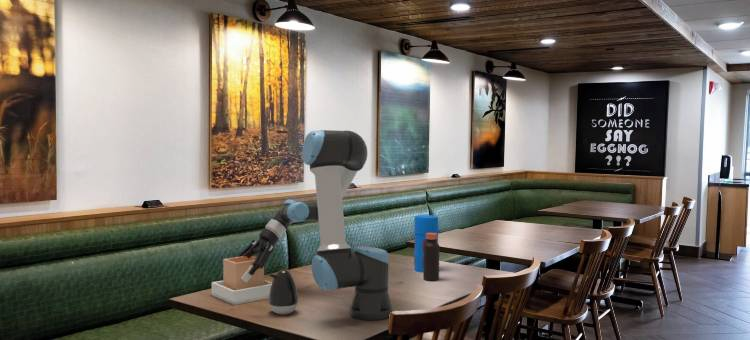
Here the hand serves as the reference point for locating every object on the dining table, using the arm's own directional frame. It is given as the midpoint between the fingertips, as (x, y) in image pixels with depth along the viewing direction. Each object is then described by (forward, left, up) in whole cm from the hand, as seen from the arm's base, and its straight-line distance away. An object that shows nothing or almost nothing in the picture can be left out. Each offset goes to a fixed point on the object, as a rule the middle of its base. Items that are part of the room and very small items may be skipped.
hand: (236, 278), depth 228 cm
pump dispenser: (-18, -22, -8) cm, 30 cm away
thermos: (+53, -73, -7) cm, 91 cm away
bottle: (+35, -75, -7) cm, 83 cm away
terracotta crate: (+2, -2, -4) cm, 5 cm away
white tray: (+2, -2, -7) cm, 8 cm away
